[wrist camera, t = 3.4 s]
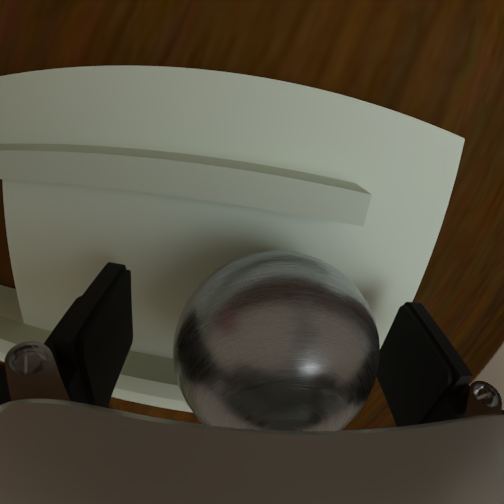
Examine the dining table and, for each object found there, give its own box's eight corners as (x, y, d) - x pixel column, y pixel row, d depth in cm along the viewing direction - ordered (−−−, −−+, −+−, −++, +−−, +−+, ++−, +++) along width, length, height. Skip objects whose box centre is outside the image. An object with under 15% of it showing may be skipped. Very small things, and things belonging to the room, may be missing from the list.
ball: (196, 208, 10) (148, 317, 5) (368, 236, 11) (455, 345, 6) (184, 347, 13) (159, 474, 7) (323, 362, 13) (353, 481, 8)
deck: (-82, 101, 9) (-137, 115, 5) (431, 131, 12) (508, 150, 7) (-57, 306, 15) (-92, 343, 11) (339, 389, 18) (358, 457, 13)
